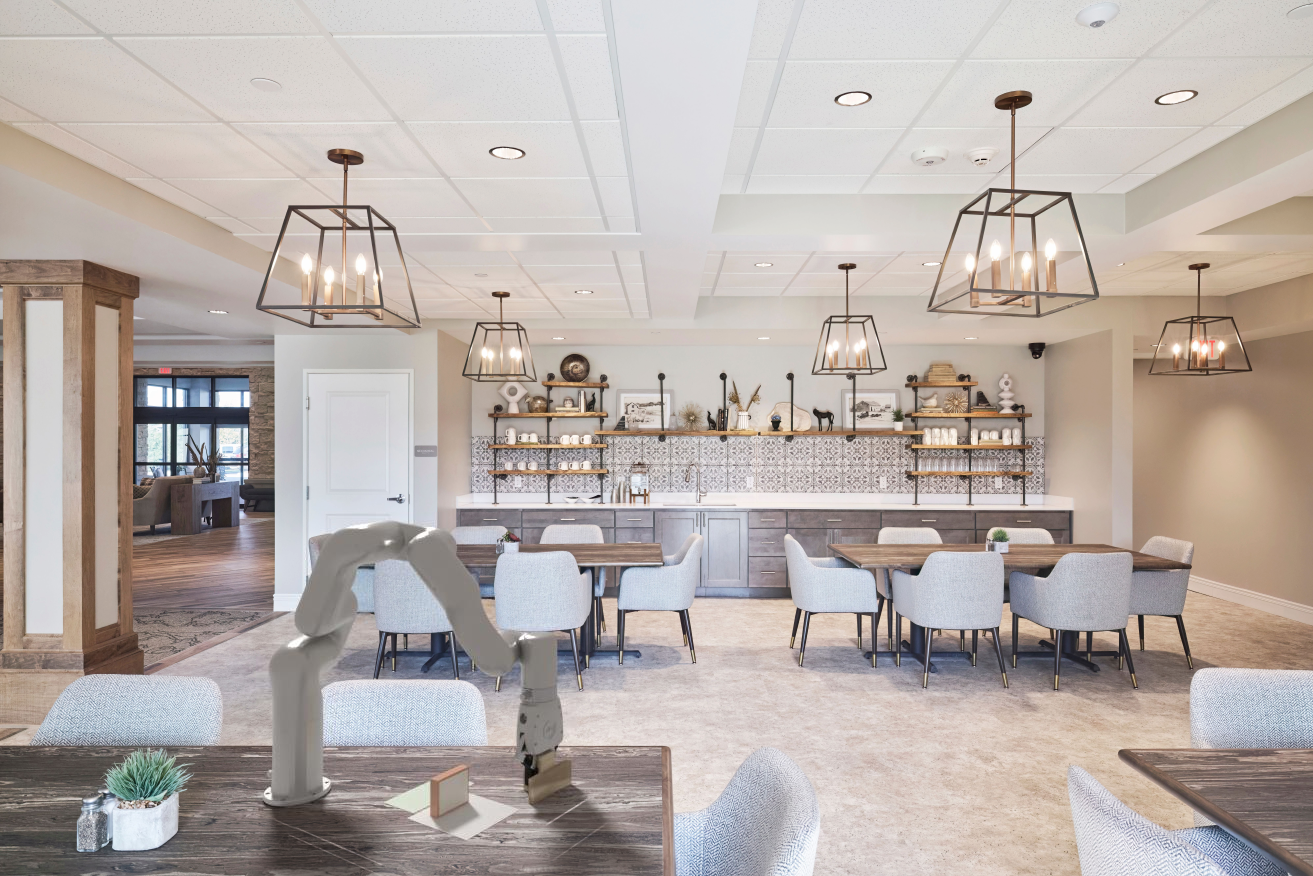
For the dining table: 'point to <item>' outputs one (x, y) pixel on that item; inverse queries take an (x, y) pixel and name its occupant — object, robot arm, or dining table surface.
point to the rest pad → (414, 799)
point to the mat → (467, 817)
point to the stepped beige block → (548, 776)
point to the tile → (449, 791)
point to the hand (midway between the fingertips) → (539, 781)
